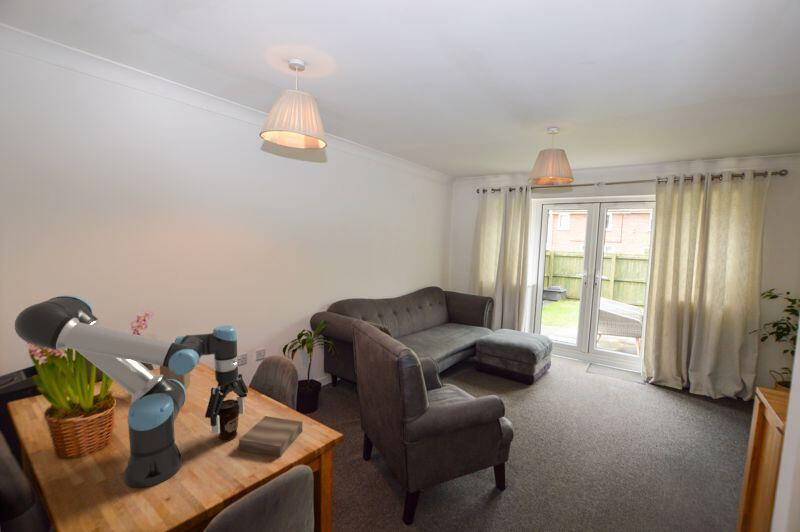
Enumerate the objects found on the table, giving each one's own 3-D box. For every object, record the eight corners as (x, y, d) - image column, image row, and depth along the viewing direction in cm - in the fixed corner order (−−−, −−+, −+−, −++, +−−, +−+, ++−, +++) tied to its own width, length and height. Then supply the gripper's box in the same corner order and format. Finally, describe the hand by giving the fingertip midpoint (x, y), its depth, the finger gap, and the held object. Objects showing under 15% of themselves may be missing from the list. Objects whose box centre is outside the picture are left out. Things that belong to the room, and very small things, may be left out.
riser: (280, 457, 122) (280, 446, 121) (239, 449, 125) (238, 439, 125) (302, 431, 137) (302, 421, 137) (265, 425, 141) (265, 416, 140)
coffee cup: (245, 431, 136) (244, 399, 135) (233, 444, 128) (232, 410, 127) (224, 429, 137) (223, 397, 136) (210, 442, 129) (209, 408, 128)
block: (167, 385, 173) (165, 346, 171) (190, 383, 176) (188, 344, 174) (160, 395, 163) (158, 353, 161) (184, 392, 166) (183, 351, 164)
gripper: (210, 383, 117) (213, 443, 119) (256, 357, 141) (258, 407, 144) (191, 381, 119) (194, 440, 121) (239, 355, 143) (241, 405, 145)
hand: (229, 422), depth 132 cm, fingers open, 13 cm apart
